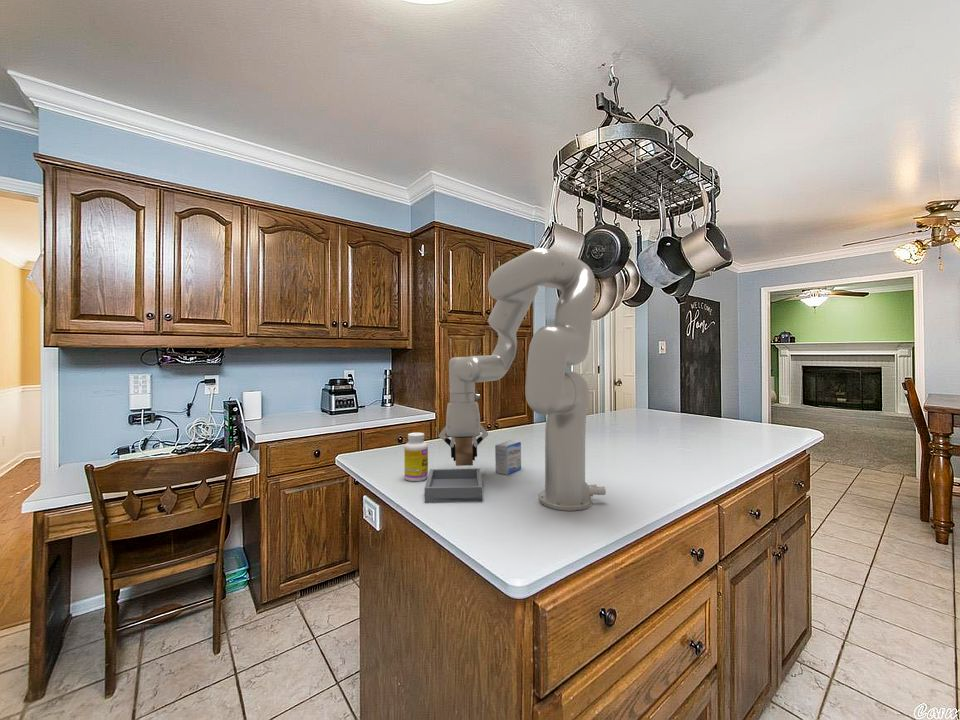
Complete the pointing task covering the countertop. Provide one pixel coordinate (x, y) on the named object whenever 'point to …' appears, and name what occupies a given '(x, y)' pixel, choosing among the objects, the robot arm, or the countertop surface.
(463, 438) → the walnut block
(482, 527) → the countertop surface
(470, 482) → the tray
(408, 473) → the supplement bottle
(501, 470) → the medicine box
